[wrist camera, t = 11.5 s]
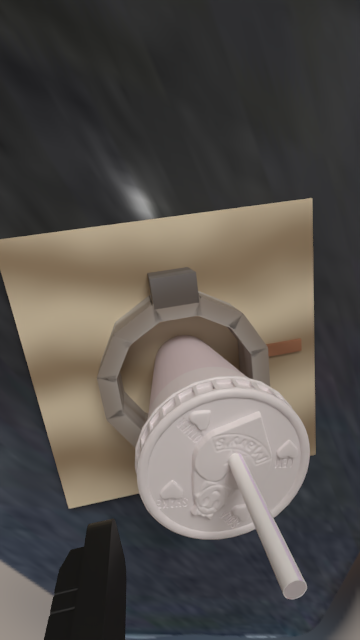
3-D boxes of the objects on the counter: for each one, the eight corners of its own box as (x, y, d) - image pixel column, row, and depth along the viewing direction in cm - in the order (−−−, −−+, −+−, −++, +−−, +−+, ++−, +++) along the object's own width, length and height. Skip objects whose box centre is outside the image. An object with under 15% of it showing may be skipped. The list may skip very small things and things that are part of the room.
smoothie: (249, 337, 21) (464, 531, 7) (204, 420, 22) (321, 717, 9) (159, 297, 19) (225, 449, 6) (115, 388, 20) (89, 690, 7)
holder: (0, 239, 18) (-31, 242, 15) (302, 199, 20) (338, 193, 17) (72, 495, 23) (61, 542, 20) (307, 444, 25) (335, 479, 22)
